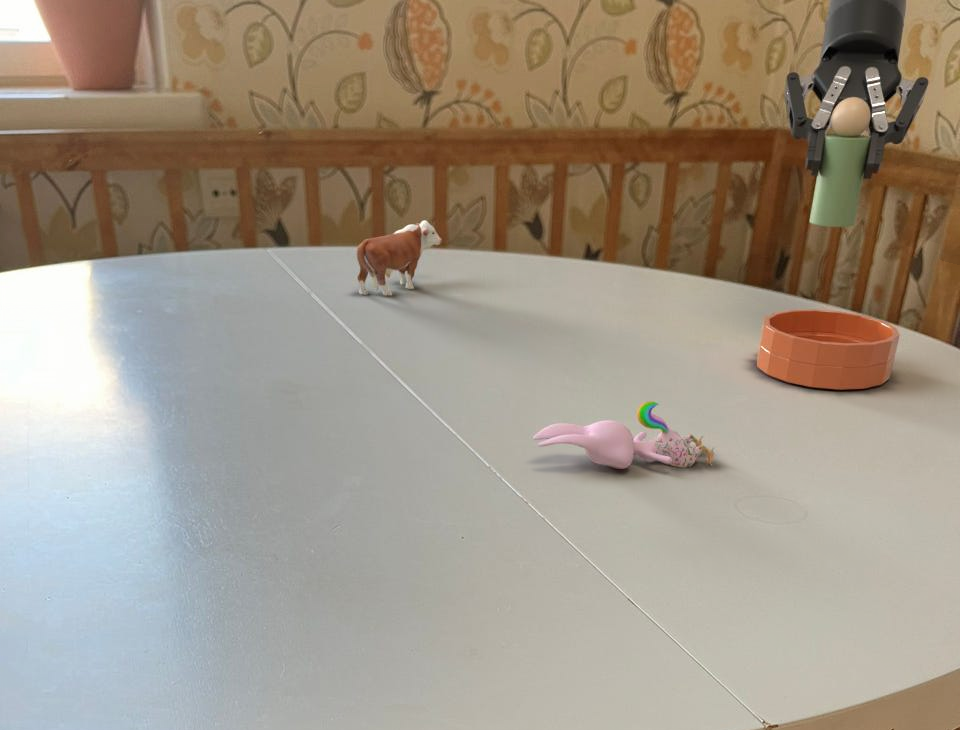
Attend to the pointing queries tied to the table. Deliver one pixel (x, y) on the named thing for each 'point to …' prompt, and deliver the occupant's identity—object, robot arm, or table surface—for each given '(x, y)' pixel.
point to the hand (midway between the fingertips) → (842, 171)
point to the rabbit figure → (627, 441)
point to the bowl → (827, 349)
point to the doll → (842, 166)
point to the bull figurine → (394, 255)
